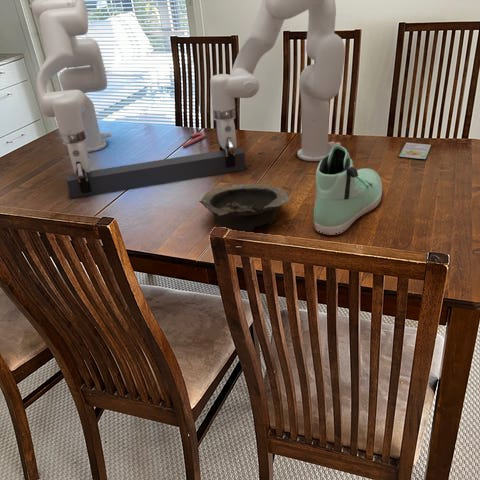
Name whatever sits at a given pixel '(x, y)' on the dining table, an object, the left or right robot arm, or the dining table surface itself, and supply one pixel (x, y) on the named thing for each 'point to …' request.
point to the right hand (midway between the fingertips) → (227, 161)
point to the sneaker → (343, 192)
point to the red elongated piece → (201, 136)
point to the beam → (156, 172)
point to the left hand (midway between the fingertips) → (86, 188)
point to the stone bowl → (244, 205)
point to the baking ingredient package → (415, 150)
